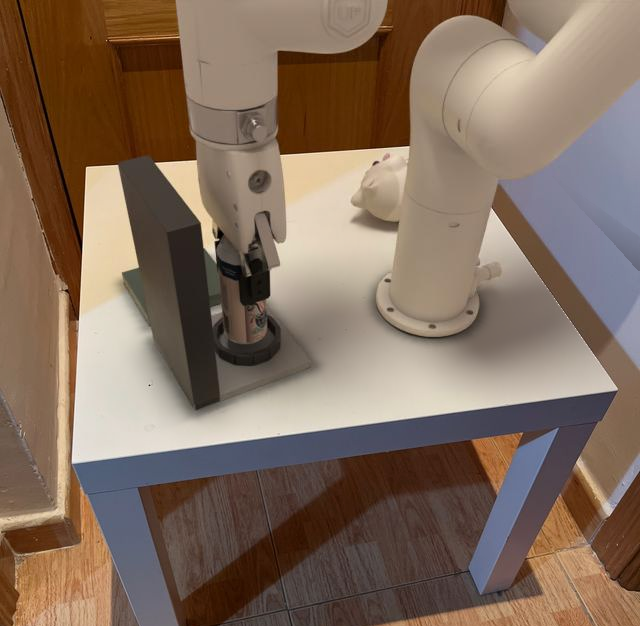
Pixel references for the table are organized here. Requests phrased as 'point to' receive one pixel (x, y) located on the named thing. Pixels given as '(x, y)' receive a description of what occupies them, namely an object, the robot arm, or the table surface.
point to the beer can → (238, 298)
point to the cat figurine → (383, 188)
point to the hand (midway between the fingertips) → (243, 283)
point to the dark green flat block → (137, 292)
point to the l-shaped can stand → (193, 298)
